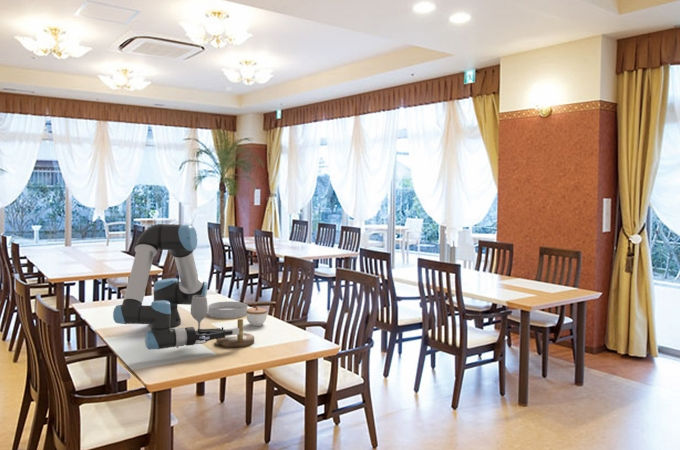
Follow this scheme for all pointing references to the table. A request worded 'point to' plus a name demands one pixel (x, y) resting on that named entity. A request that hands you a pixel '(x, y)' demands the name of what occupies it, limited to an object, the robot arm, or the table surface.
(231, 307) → the dish
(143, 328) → the table surface
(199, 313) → the wineglass
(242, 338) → the wooden holder stand
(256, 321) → the lidded jar
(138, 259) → the robot arm
